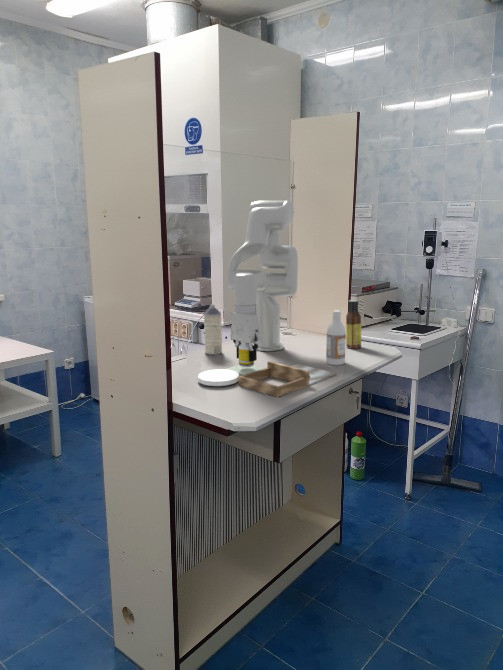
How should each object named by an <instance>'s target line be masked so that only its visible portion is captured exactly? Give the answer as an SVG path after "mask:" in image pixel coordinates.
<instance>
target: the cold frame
mask: <svg viewBox="0 0 503 670" xmlns="http://www.w3.org/2000/svg"><path fill="white" fill-rule="evenodd" d="M266 366H267V367H263V368H264V369H261V370H258V371H255V372H252V373H249V374H245V375H242V376H239V381H238V386H241V387H243V388H246V389H250V390H253V391H256V392H260V393H262V392H263V394H266V393H268V394H267V395H269V394H272V395H275V396H274V397H276V396H277V397H276V398H280V397H279V396H281V397H282V395H283V396H285V395H284V394H286V395H288V394H290V392H291V393H293V392H295V391H298V390H301V389H304V388H307V387H308V386H310V385H311V386H312V385H313V384H317V383H319V382H321V381H324V380H326V379H329V378H332V377H334V375H335V376H337V373H336V372H332V371H328V370H324V369H321V368H315V367H312V366H308V365H304V364H300V363H297V364H292V365H286V364H282V363H280V362H279V363H278V362H274V361H270V360H269V361H267V365H266ZM331 376H332V377H331ZM269 377H271V378H274V379H278V380H282V381H286V382H287V383H284V384H280V385H274V384H272V383H268V382H263V381H261V380H263V379H266V378H267V379H268V378H269ZM287 393H288V394H287ZM272 395H271V396H272Z"/></svg>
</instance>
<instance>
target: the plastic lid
mask: <svg viewBox="0 0 503 670" xmlns="http://www.w3.org/2000/svg"><path fill="white" fill-rule="evenodd" d="M197 381H198V383H199V384H202V385H204V386H208V387H210V386H211V387H224V386H225V387H226V386H229V385H233V384H236V383H237V382H239V374H238V372H235V371H233V370H227V368H225V369H222V368H219V369H217V368H216V369H209V370H204V371H201V372H199V373H198V375H197Z"/></svg>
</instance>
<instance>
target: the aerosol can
mask: <svg viewBox="0 0 503 670" xmlns="http://www.w3.org/2000/svg"><path fill="white" fill-rule="evenodd" d="M215 306H216V305H215V304H209V308H208V309H207V310H206V311H204V314H203V319H204V320H203V325H204V327H203V329H204V354H205V355H206V356H213V357H214V356H221V355H222V354H223V338H222V337H223V336H222V335H223V333H222V332H223V331H222V313H221V311H219V309H217V307H215Z"/></svg>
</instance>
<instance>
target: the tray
mask: <svg viewBox="0 0 503 670" xmlns="http://www.w3.org/2000/svg"><path fill="white" fill-rule="evenodd" d="M264 368H265V367H260V366H256V365H254V366H252V367H240V366H239V364H237V365H233V366H230V367H228V368H226V369H227V370H233V371H235V372H238V374H239V376H242V375H245V374H249V373H252V372H255V371H258V370H261V369H264Z"/></svg>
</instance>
